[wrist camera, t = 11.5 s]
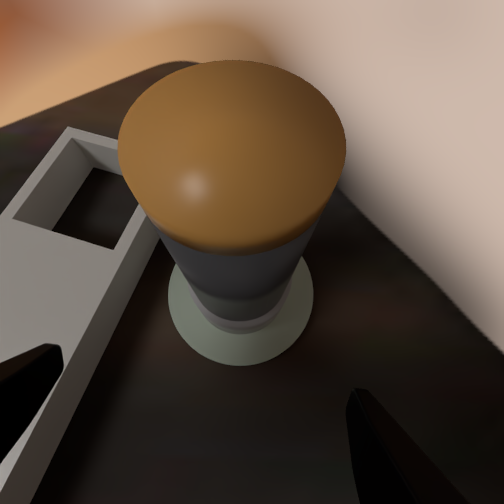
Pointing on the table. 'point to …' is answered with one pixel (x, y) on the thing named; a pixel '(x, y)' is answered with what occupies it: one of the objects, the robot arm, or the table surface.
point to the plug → (233, 180)
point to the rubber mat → (242, 345)
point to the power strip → (61, 293)
